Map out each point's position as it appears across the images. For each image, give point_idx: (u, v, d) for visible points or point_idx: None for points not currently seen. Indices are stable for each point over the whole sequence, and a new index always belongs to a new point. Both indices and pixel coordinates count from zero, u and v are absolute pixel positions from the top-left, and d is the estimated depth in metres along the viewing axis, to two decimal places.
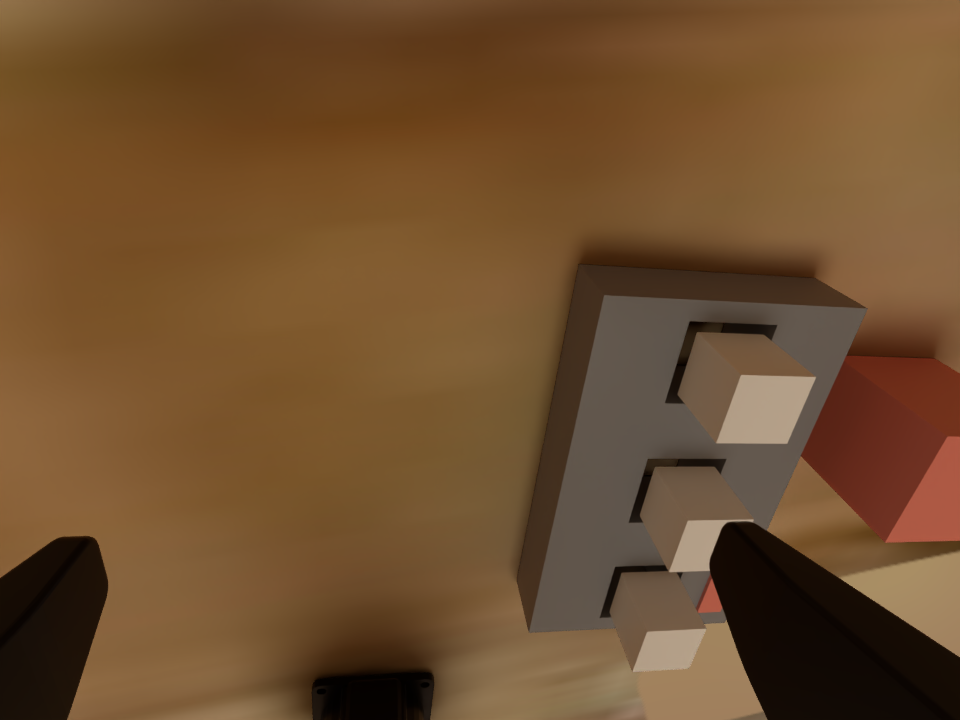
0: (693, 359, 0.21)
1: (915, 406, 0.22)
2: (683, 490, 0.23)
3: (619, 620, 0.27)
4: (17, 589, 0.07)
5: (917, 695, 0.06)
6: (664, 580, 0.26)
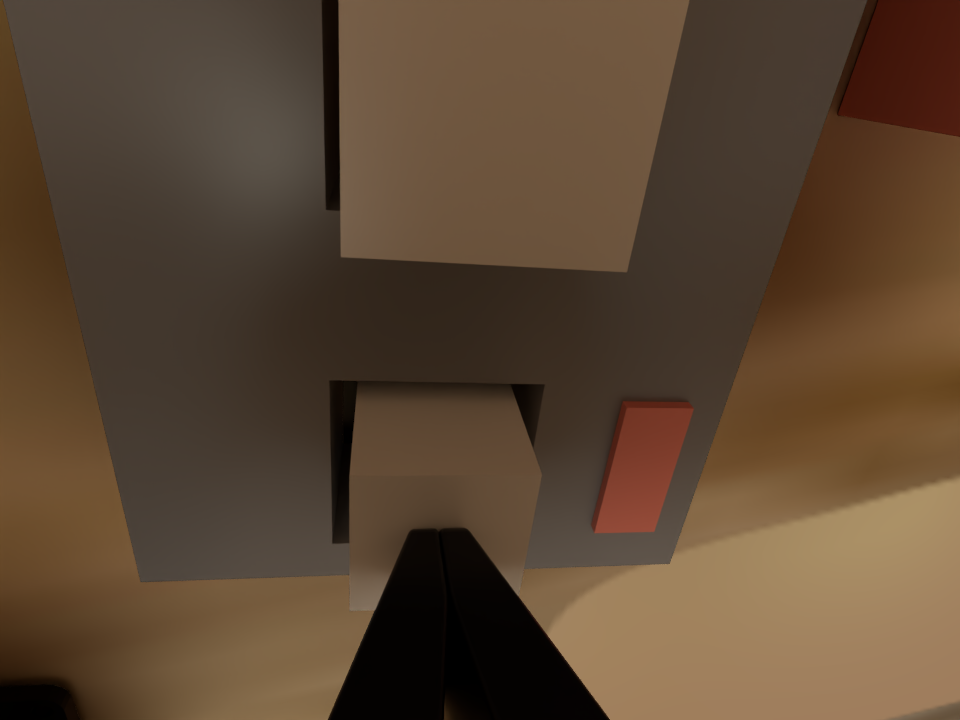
0: None
1: None
2: None
3: None
4: (419, 574, 0.07)
5: None
6: None
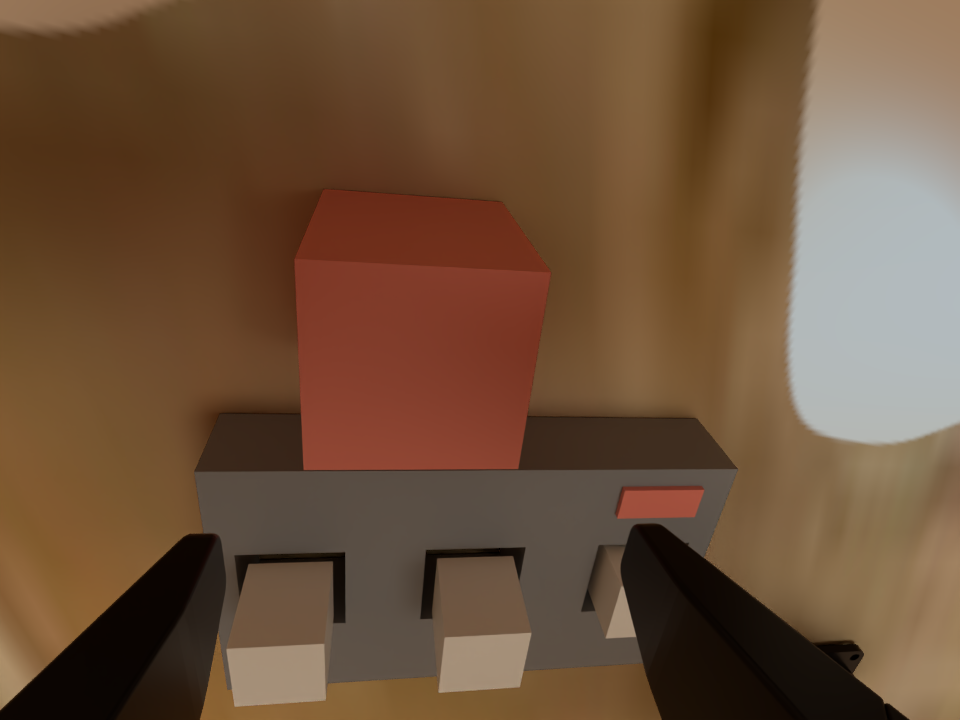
0: None
1: None
2: (435, 635, 0.20)
3: None
4: (164, 584, 0.07)
5: (786, 706, 0.06)
6: None
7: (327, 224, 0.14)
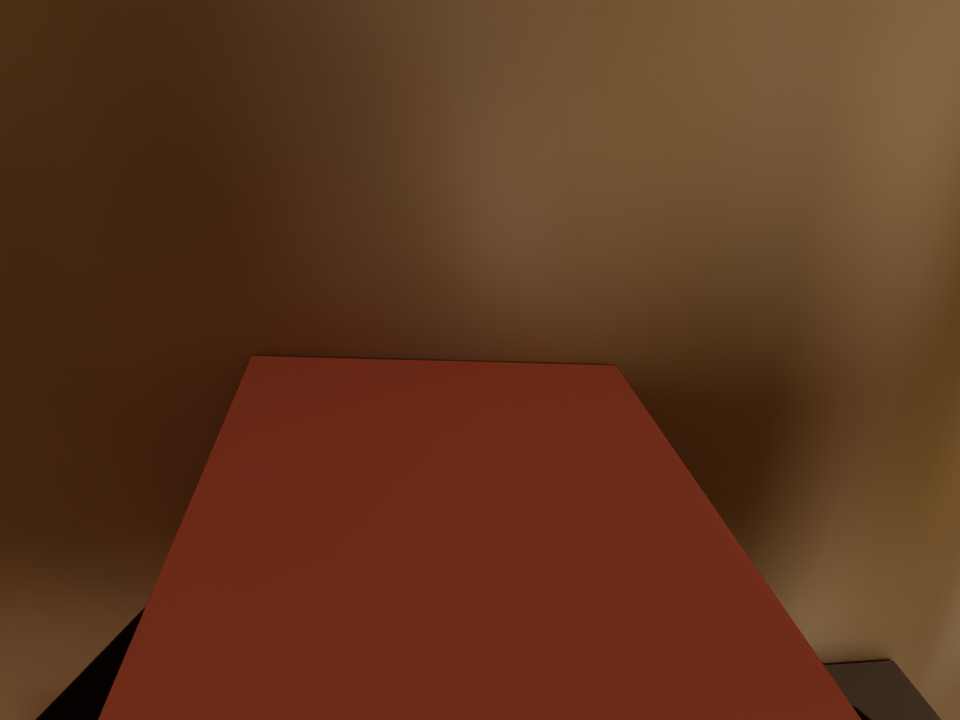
0: None
1: None
2: None
3: None
4: None
5: None
6: None
7: (218, 559, 0.05)
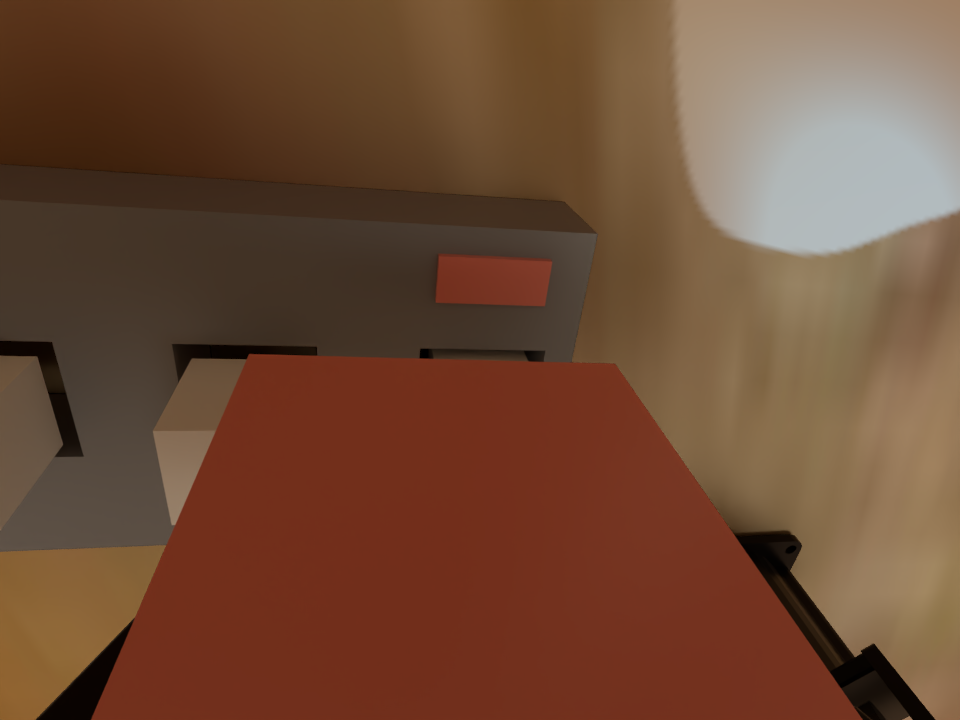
0: None
1: None
2: None
3: None
4: None
5: None
6: None
7: (214, 557, 0.05)
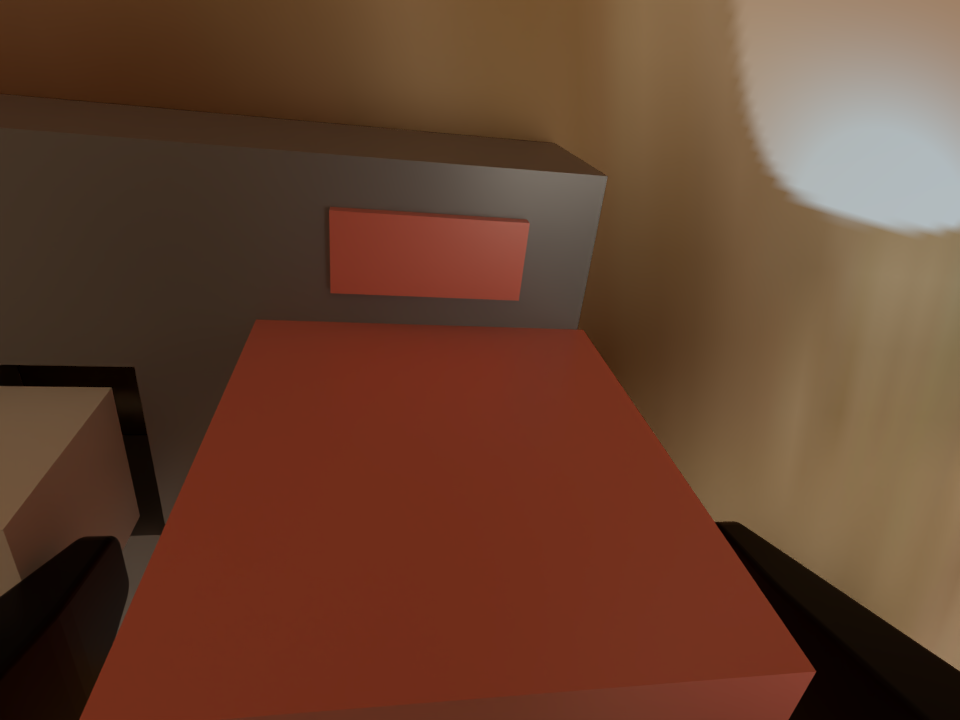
0: None
1: None
2: None
3: None
4: (43, 588, 0.07)
5: (896, 696, 0.06)
6: None
7: (233, 470, 0.06)
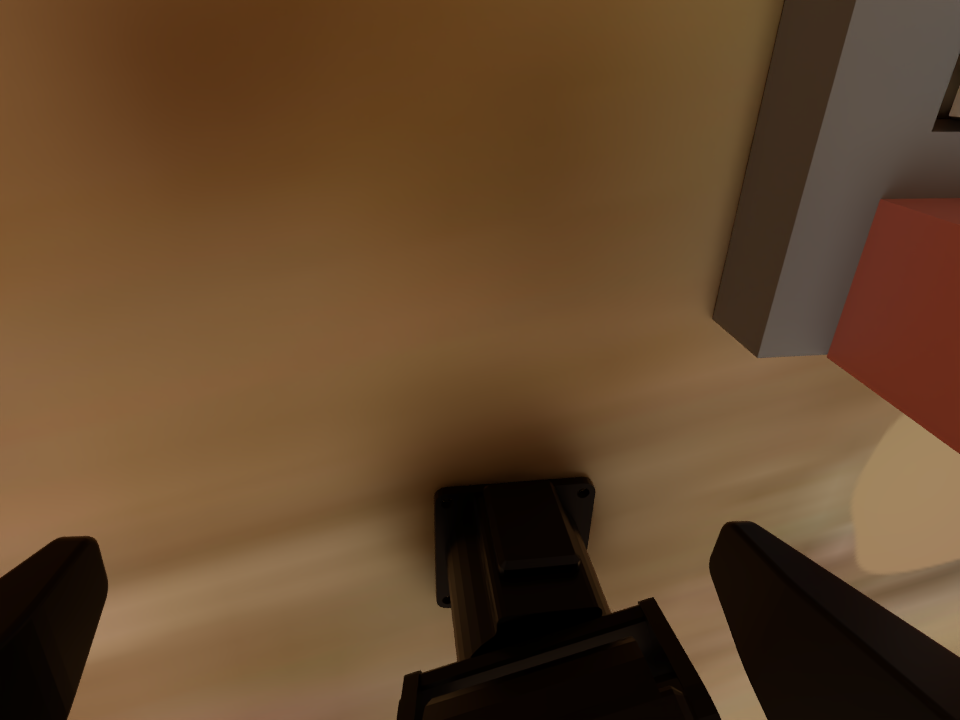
0: None
1: None
2: None
3: None
4: (17, 589, 0.07)
5: (917, 695, 0.06)
6: None
7: None
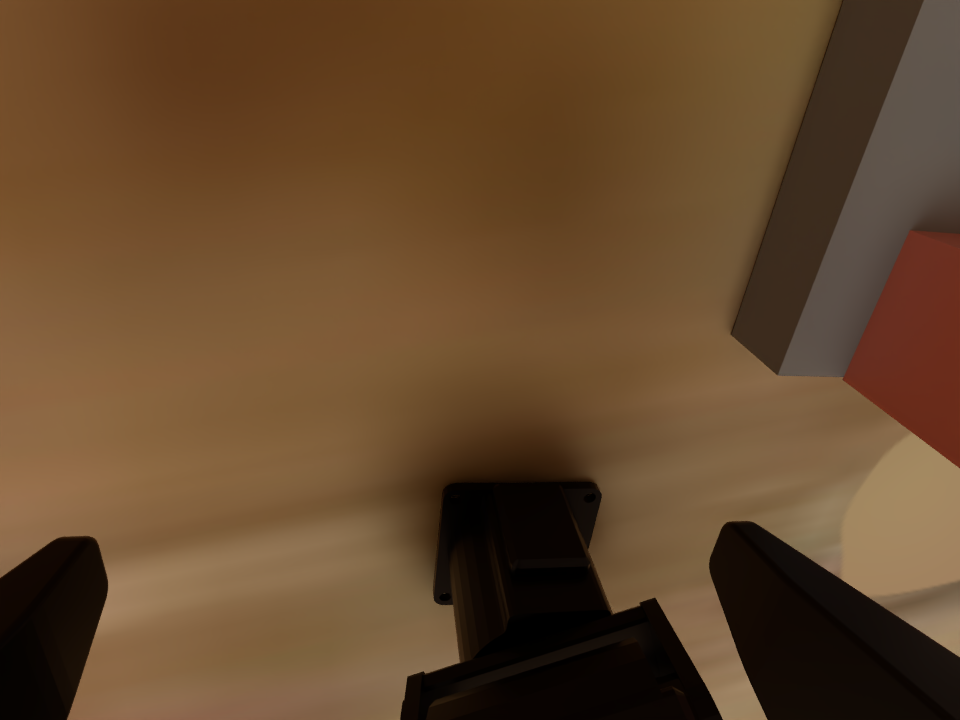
0: None
1: None
2: None
3: None
4: (17, 589, 0.07)
5: (917, 695, 0.06)
6: None
7: None
